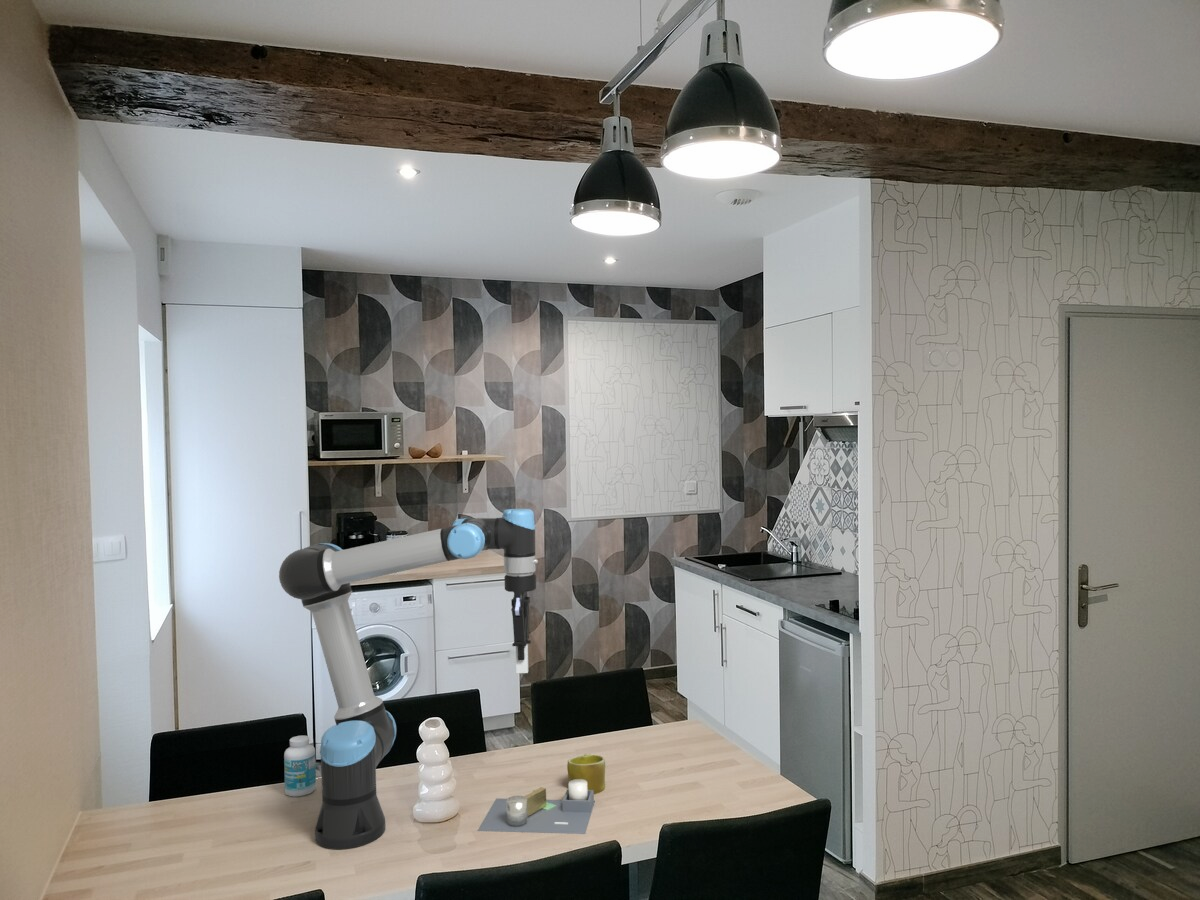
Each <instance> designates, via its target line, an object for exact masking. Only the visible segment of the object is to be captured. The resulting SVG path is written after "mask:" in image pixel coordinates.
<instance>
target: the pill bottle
mask: <svg viewBox="0 0 1200 900" xmlns="http://www.w3.org/2000/svg"><path fill="white" fill-rule="evenodd" d="M283 754H284V755H283V759H284V760H283V763H284V765H283V766H284V793H285V794H286V795H287V796H289V797H297V798H298V797H304V796H307V795H310V794H312V793H313V792H314V791H315V790H316V787H317V782H316V781H317V780H316V779H317V777H316V776H317V775H316V773H317V771H316V767H317V766H316V749H315V747H314V745H312V744H310V736H309V735H297V736H292V737H291V738H290V739H289V747H288V748H286V749H285V751H284V753H283Z"/></svg>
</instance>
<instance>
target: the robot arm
mask: <svg viewBox="0 0 1200 900" xmlns="http://www.w3.org/2000/svg"><path fill="white" fill-rule="evenodd" d="M484 550H503V573H505V575H504V590H505V591H506V592H510V593H513V598H512V599H511V601H510V602H511V609H510V610H511V614H512V630H513V643H512V647H515V667H516V668H515V669H516V670H515V673H516V674H528V673H529V645H530V644H531V643H532V640H530V639H529V638H530V634H529V633H530V632H529V631H530V630H529V629H530V620H529V619H530V603H531V599H530V597H531V596H528V593H529V592H532V591H535V590H536V589H537V575H536V573H535V572H536V571H537V570H536V564H538V563H539V560H538V559H536V522H535V512H534V511H533V510H532V509H530V508H509V509H504V510H503V512H502V516H500V517H496V518H495V517H491V518H489V517H485V518H484V517H481V518H480V517H477V518H475V517H474V518H472V517H465V518H458V519H457V518H456V519H455V520H454V521H453V524H452V525H451V526H447V527H444V528H438V529H433V530H428V531H423V532H420V533H416V534H415V533H414V534H411V535H407V536H402V537H397V538H393V539H392V538H391V539H387V540H384V541H383V540H382V541H379V542H374V543H369V544H364V545H360V546H355V547H350V548H346V549H342V548H341V547H340V546H338V545H336V544H333V543H329V542H326V543H325V542H324V543H322V542H320V543H314V544H312V545H309V546H307V547H303V548H300V549H298V550H295V551H293V552H292V553H290V554H289V555H288V556H286V557H285V559H284V560H283V561H282V563H281V565H280V568H279V571H278V573H279V574H278V577H279V578H278V579H279V582H280V586H281V588H282V589H283V590H284V592H285V593H286V594H287V595H289V596H290V597H292V598H294V599H296V600H301V605H302V607H303V609H304V608H305V609H306V610H308V611H309V612H311V614H312V618H313V621H314V625H315V629H316V632H317V634H318V639H319V642H320V647H321V650H322V653H323V656H324V660H325V664H326V668H327V672H328V675H329V678H330V682H331V686H332V689H333V693H334V696H335V698H336V699H335V700H336V703H337V707H338V708H337V710H336V712H335V714H334V716H333V718H334V721H335V725H333V726H331V727H330V728H328V729H327V730H326V731H325V732H324V733H323V735H322V736H321V738H320V739H321V740H320V747H319V754H320V755H319V756H320V768H321V771H320V772H321V798H322V800H321V807H320V810H319V813H318V816H317V821H316V824H315V826H314V827H315V828H314V841H315V843H316V844H317V845H318V846H320V847H321V848H326V849H333V850H343V849H351V848H353V849H354V848H357V847H361V846H364V845H367V844H370V843H373V842H374V841H375V840H377V839H379V838H380V837H381V836H382V835H383V834H384V833H385V832H386V816H385V814H384V811H383V809H382V805H381V803H380V801H379V798H378V795H377V772H376V771H377V770H376V769H377V767H378V765H379V764H380V763H381V761H383V759H384V757H386V756H387V754H388V753H389V752H390V751H391V749H392V747H393V746H394V744H395V743H394V742H395V740H396V737H397V724H396V720H395V718H394V717H393V715H392V714H391V713H390V712H389V711H388V710H386V707H385V705H384V704H385V703H384V701H383V699H382V698H380V697H378V696H376V695H375V693H374V690H373V686H372V682H371V679H370V675H369V672H368V668H367V664H366V661H365V658H364V657H365V656H364V653H363V650H362V646H361V642H360V639H359V636H358V632H357V629H356V625H355V620H354V618H353V614H352V611H351V608H350V607H351V606H350V604H349V598H350V597H351V595H352V593H353V590H352V585H351V584H352V583H356V582H360V581H364V580H368V579H373V578H378V577H382V576H383V577H384V576H387V575H392V574H396V573H401V572H405V571H409V570H414V569H418V568H424V567H427V566H433V565H437V564H442V563H445V562H450V561H451V562H452V561H455V560H461V559H462V560H467V559H471V558H475V557H476V556H478V554H480V553H481V552H482V551H484Z"/></svg>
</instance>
